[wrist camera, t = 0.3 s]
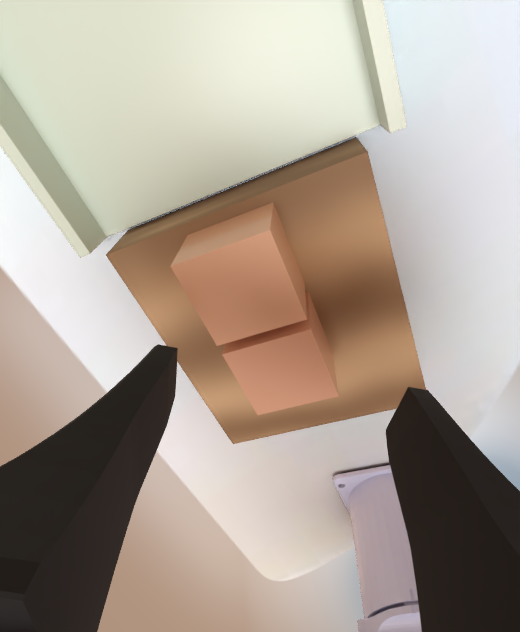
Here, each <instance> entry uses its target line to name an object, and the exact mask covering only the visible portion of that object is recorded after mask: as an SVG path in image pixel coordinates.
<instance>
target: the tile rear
mask: <svg viewBox="0 0 520 632" xmlns="http://www.w3.org/2000/svg"><path fill="white" fill-rule="evenodd" d="M305 295H306V310H307V320H304V321H300V322H297V323H294V324H290V325H287V326H283V327H280V328H276V329H273V330H270V331H266V332H263V333H259V334H256V335H253V336H249V337H246V338H242V339H239V340H236V341H232V342H229V343H225V344H224V348H223V352H222V355H223V357H224V359H225V361H226V362H227V364H228V366H229V367H230V369H231V371H232V373H233V374H234V376H235V378H236V379H237V381H238V383H239V384H240V386H241V388H242V390H243V391H244V393H245V395H246V396H247V398H248V400H249V401H250V403H251V405H252V407H253V408H254V410H255V412H256V413H257V415H261V414H266V413H270V412H274V411H278V410H283V409H287V408H291V407H295V406H300V405H304V404H308V403H312V402H317V401H321V400H325V399H330V398H334V397H338V396H339V394H338V387H337V380H336V373H335V366H334V359H333V353H332V351H331V348H330V346H329V343H328V341H327V338H326V335H325V333H324V330H323V328H322V325H321V323H320V320H319V318H318V315H317V313H316V310H315V307H314V305H313V302H312V300H311V297H310V295H309V292H305Z"/></svg>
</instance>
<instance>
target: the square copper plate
mask: <svg viewBox="0 0 520 632" xmlns="http://www.w3.org/2000/svg"><path fill="white" fill-rule="evenodd" d="M272 202H273V203H274V206H275V208H276V211H277V213H278V216H279V218H280V221H281V223H282V226H283V229H284V231H285V234H286V236H287V239H288V241H289V244H290V246H291V249H292V251H293V254H294V257H295V259H296V262H297V264H298V267H299V269H300V272H301V274H302V277H303V279H304V282H305V292H309V295H310V297H311V300H312V302H313V305H314V307H315V310H316V313H317V315H318V318H319V320H320V323H321V325H322V328H323V330H324V333H325V335H326V338H327V341H328V343H329V346H330V348H331V351H332V353H333V359H334V366H335V373H336V380H337V387H338V394H339V396H338V397H334V398H330V399H325V400H321V401H317V402H312V403H308V404H304V405H300V406H295V407H291V408H287V409H283V410H278V411H274V412H270V413H266V414H261V415H257V413H256V412H255V410H254V408H253V407H252V405H251V403H250V401H249V400H248V398H247V396H246V395H245V393H244V391H243V390H242V388H241V386H240V384H239V383H238V381H237V379H236V378H235V376H234V374H233V373H232V371H231V369H230V367H229V366H228V364H227V362H226V361H225V359H224V357H223V355H222V352H223V348H224V344H222V345H219V346H217V345H216V344H215V342H214V340H213V338H212V337H211V335H210V333H209V332H208V330H207V328H206V326H205V325H204V323H203V321H202V320H201V318H200V316H199V315H198V313H197V311H196V309H195V308H194V306H193V304H192V303H191V301H190V299H189V298H188V296H187V294H186V292H185V291H184V289H183V287H182V286H181V284H180V282H179V280H178V279H177V277H176V275H175V274H174V272H173V270H172V269H171V267H170V266H171V264H172V262H173V261H174V259H175V257H176V255H177V253H178V252H179V250H180V248H181V246H182V244H183V243H184V241H185V239H186V237H187V235H189V234H192V233H195V232H197V231H200V230H202V229H205V228H208V227H210V226H213V225H215V224H218V223H220V222H223V221H226V220H228V219H231V218H233V217H236V216H239V215H241V214H244V213H246V212H249V211H252V210H254V209H257V208H259V207H262V206H265V205H267V204H270V203H272ZM106 256H107V257H108V259H109V260H110V262H111V263H112V265H113V266H114V268H115V269H116V271H117V272H118V274H119V275H120V277H121V278H122V280H123V281H124V283H125V284H126V286H127V287H128V289H129V290H130V292H131V293H132V295H133V296H134V297H135V299H136V300H137V302H138V303H139V305H140V306H141V308H142V309H143V311H144V312H145V314H146V315H147V317H148V318H149V320H150V321H151V323H152V324H153V326H154V327H155V329H156V330H157V332H158V333H159V335H160V336H161V338H162V339H163V341H164V342H165V344H166V345H167V346H169V347H175V348H178V352H177V361H178V363H179V364H180V366H181V367H182V369H183V370H184V372H185V373H186V375H187V376H188V378H189V379H190V381H191V382H192V384H193V385H194V387H195V388H196V390H197V391H198V393H199V394H200V396H201V397H202V399H203V400H204V402H205V403H206V405H207V406H208V408H209V409H210V411H211V412H212V413H213V415H214V416H215V418H216V419H217V421H218V422H219V424H220V425H221V427H222V428H223V430H224V431H225V433H226V434H227V436H228V437H229V439H230V440H231V442H232V443H233V444H235V443H240V442H244V441H249V440H254V439H258V438H263V437H268V436H272V435H277V434H281V433H286V432H291V431H295V430H300V429H304V428H309V427H314V426H318V425H323V424H327V423H332V422H337V421H341V420H346V419H350V418H355V417H360V416H364V415H369V414H373V413H378V412H383V411H387V410H392V409H396V408H398V406H399V404H400V402H401V400H402V398H403V396H404V394H405V392H406V390H407V388H408V387H412V388H418V389H424V390H426V388H425V384H424V380H423V376H422V372H421V368H420V364H419V359H418V355H417V351H416V347H415V343H414V339H413V335H412V331H411V327H410V323H409V319H408V315H407V311H406V307H405V302H404V298H403V294H402V290H401V286H400V282H399V278H398V274H397V270H396V266H395V262H394V258H393V254H392V250H391V246H390V241H389V237H388V233H387V229H386V225H385V221H384V217H383V213H382V209H381V205H380V201H379V197H378V193H377V189H376V184H375V180H374V176H373V172H372V168H371V164H370V160H369V156H368V152H367V151H366V149H365V148H364V147H363V145H362V144H361V143H360V141H359V140H358V139H357V138H353V139H351V140H348V141H346V142H344V143H341V144H339V145H336V146H334V147H331V148H329V149H326V150H324V151H321V152H319V153H317V154H314V155H312V156H309V157H307V158H304V159H302V160H299V161H297V162H294V163H292V164H290V165H287V166H285V167H282V168H280V169H277V170H275V171H272V172H270V173H267V174H265V175H263V176H260V177H258V178H255V179H253V180H250V181H248V182H245V183H243V184H240V185H238V186H236V187H233V188H231V189H228V190H226V191H223V192H221V193H218V194H216V195H213V196H211V197H209V198H206V199H204V200H201V201H199V202H196V203H194V204H191V205H189V206H186V207H184V208H182V209H179V210H177V211H174V212H172V213H169V214H167V215H164V216H162V217H159V218H157V219H155V220H152V221H150V222H147V223H145V224H142V225H140V226H137V227H135V228H132V229H130V230H128V231H127V232H126V233H125V234H124V236H123V237H122V238H121V239H120V240H119V241H118V242H117V243H116V244H115V245H114V247H113V248H112V249H111V250H110V251H109V252H108V253H107V254H106Z"/></svg>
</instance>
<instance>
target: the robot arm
mask: <svg viewBox="0 0 520 632" xmlns="http://www.w3.org/2000/svg"><path fill="white" fill-rule="evenodd" d="M177 352H178V348H175V347H169V346H163V345H157V346H155V347H154V348H153V349H152V350H151V351H150V352H149V353H148V354H147V355H146V356H145V357H144V358H143V360H142V361H141V362H140V363H139V364H138V365H137V366H136V367H135V368H134V369H133V370H132V371H131V372H130V373H129V374H127V375H126V376H125V377H124V378H123V379H122V380H121V381H120V382H119V383H118V384H117V385H116V386H115V387H113V388H112V389H111V390H110V391H109V392H108V393H107V394H105V395H104V396H103V397H102V398H101V399H99V400H98V401H97V402H96V403H95V404H94V405H92V406H91V407H90V408H89V409H87V410H86V411H85V412H83V413H82V414H81V415H80V416H78V417H77V418H76V419H74V420H73V421H72V422H70V423H69V424H67V425H66V426H65V427H63V428H62V429H60V430H59V431H57V432H56V433H55V434H53V435H51V436H50V437H48V438H47V439H45V440H44V441H42V442H41V443H39V444H38V445H36V446H35V447H33V448H31V449H30V450H28V451H26V452H25V453H23V454H21V455H20V456H19V457H17V458H15V459H13V460H11V461H9V462H8V463H6V464H4V465H2V466H0V632H97V630H98V626H99V623H100V619H101V616H102V612H103V609H104V605H105V602H106V598H107V595H108V591H109V588H110V584H111V581H112V577H113V574H114V570H115V567H116V564H117V560H118V557H119V553H120V550H121V547H122V543H123V540H124V537H125V534H126V530H127V527H128V524H129V521H130V518H131V514H132V511H133V508H134V505H135V502H136V499H137V497H138V494H139V491H140V489H141V487H142V484H143V482H144V479H145V477H146V475H147V472H148V470H149V467H150V465H151V462H152V460H153V457H154V455H155V453H156V450H157V448H158V446H159V443H160V441H161V438H162V436H163V433H164V431H165V428H166V426H167V423H168V419H169V416H170V412H171V409H172V405H173V401H174V398H175V389H176V371H177ZM386 438H387V448H388V455H389V462H390V465H387V466H381V467H376V468H370V469H365V470H359V471H354V472H348V473H343V474H337V475H335V476H334V477H333V483H334V485H335V487H336V489H337V491H338V493H339V495H340V497H341V499H342V501H343V503H344V505H345V507H346V509H347V510H348V512H349V514H350V516H351V520H352V528H353V536H354V543H355V551H356V559H357V566H358V573H359V581H360V589H361V597H362V604H363V611H364V619H360V620H358V621H357V622H358V630H359V632H520V491H519V490H518V489H517V488H516V487H515V486H514V485H513V484H512V483H511V482H510V481H508V479H507V478H506V477H505V476H504V475H503V474H502V473H501V472H500V471H499V470H498V469H497V468H496V467H495V466H494V465H493V464H492V463H491V462H490V461H489V460H488V458H487V457H486V456H485V455H484V454H483V453H482V452H481V451H480V450H479V449H478V447H477V446H476V445H475V444H474V443H473V442H472V441H471V440H470V438H469V437H468V436H467V435H466V434H465V433H464V432H463V430H462V429H461V428H460V427H459V426H458V425H457V423H456V422H455V421H454V420H453V419H452V418H451V416H450V415H449V414H448V413H447V412H446V411H445V409H444V408H443V407H442V406H441V405H440V403H439V402H438V401H437V400H436V399H435V398H434V397H433V396H432V394H431V393H430V392H429V391H428V390H424V389H418V388H412V387H408V388H407V390H406V392H405V394H404V396H403V398H402V400H401V402H400V404H399V406H398V408H397V409H396V411H395V413H394V415H393V417H392V419H391V421H390V423H389V425H388V427H387V429H386Z"/></svg>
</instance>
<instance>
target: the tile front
mask: <svg viewBox="0 0 520 632" xmlns="http://www.w3.org/2000/svg"><path fill="white" fill-rule="evenodd" d="M170 267H171V269H172V270H173V272H174V274H175V275H176V277H177V279H178V280H179V282H180V284H181V286H182V287H183V289H184V291H185V292H186V294H187V296H188V298H189V299H190V301H191V303H192V304H193V306H194V308H195V309H196V311H197V313H198V315H199V316H200V318H201V320H202V321H203V323H204V325H205V326H206V328H207V330H208V332H209V333H210V335H211V337H212V338H213V340H214V342H215V344H216V345H217V346H219V345H222V344H225V343H229V342H232V341H236V340H239V339H242V338H246V337H249V336H253V335H256V334H259V333H263V332H266V331H270V330H273V329H276V328H280V327H283V326H287V325H290V324H294V323H297V322H300V321H304V320H307V310H306V295H305V282H304V279H303V277H302V274H301V272H300V269H299V267H298V264H297V262H296V259H295V257H294V254H293V251H292V249H291V246H290V244H289V241H288V239H287V236H286V234H285V231H284V229H283V226H282V223H281V221H280V218H279V216H278V213H277V211H276V208H275V206H274V203H273V202H272V203H270V204H267V205H265V206H262V207H259V208H257V209H254V210H252V211H249V212H246V213H244V214H241V215H239V216H236V217H233V218H231V219H228V220H226V221H223V222H220V223H218V224H215V225H213V226H210V227H208V228H205V229H202V230H200V231H197V232H195V233H192V234H189V235H187V237H186V239H185V241H184V243H183V244H182V246H181V248H180V250H179V252H178V253H177V255H176V257H175V259H174V261H173V262H172V264H171V266H170Z"/></svg>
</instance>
